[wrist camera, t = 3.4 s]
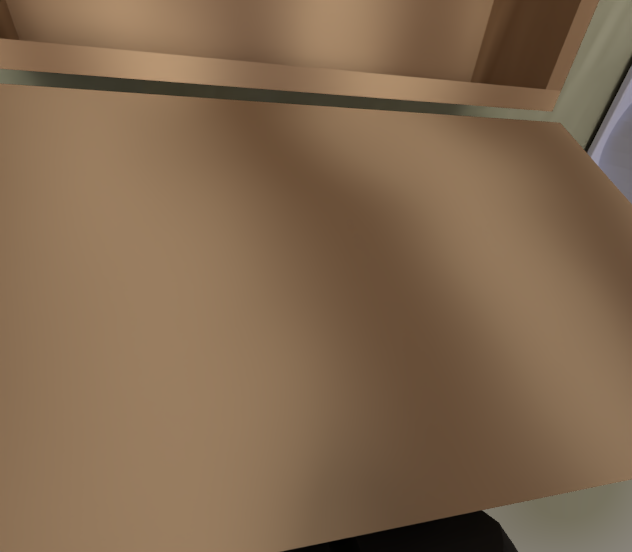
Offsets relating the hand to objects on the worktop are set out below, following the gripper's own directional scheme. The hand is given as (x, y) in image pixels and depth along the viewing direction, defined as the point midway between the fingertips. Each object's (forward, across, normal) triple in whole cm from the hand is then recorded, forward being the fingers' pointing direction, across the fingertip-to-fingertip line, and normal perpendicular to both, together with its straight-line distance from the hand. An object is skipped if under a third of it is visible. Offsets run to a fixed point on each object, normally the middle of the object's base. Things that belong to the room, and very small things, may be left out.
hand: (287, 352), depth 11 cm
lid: (-2, 0, -5) cm, 6 cm away
